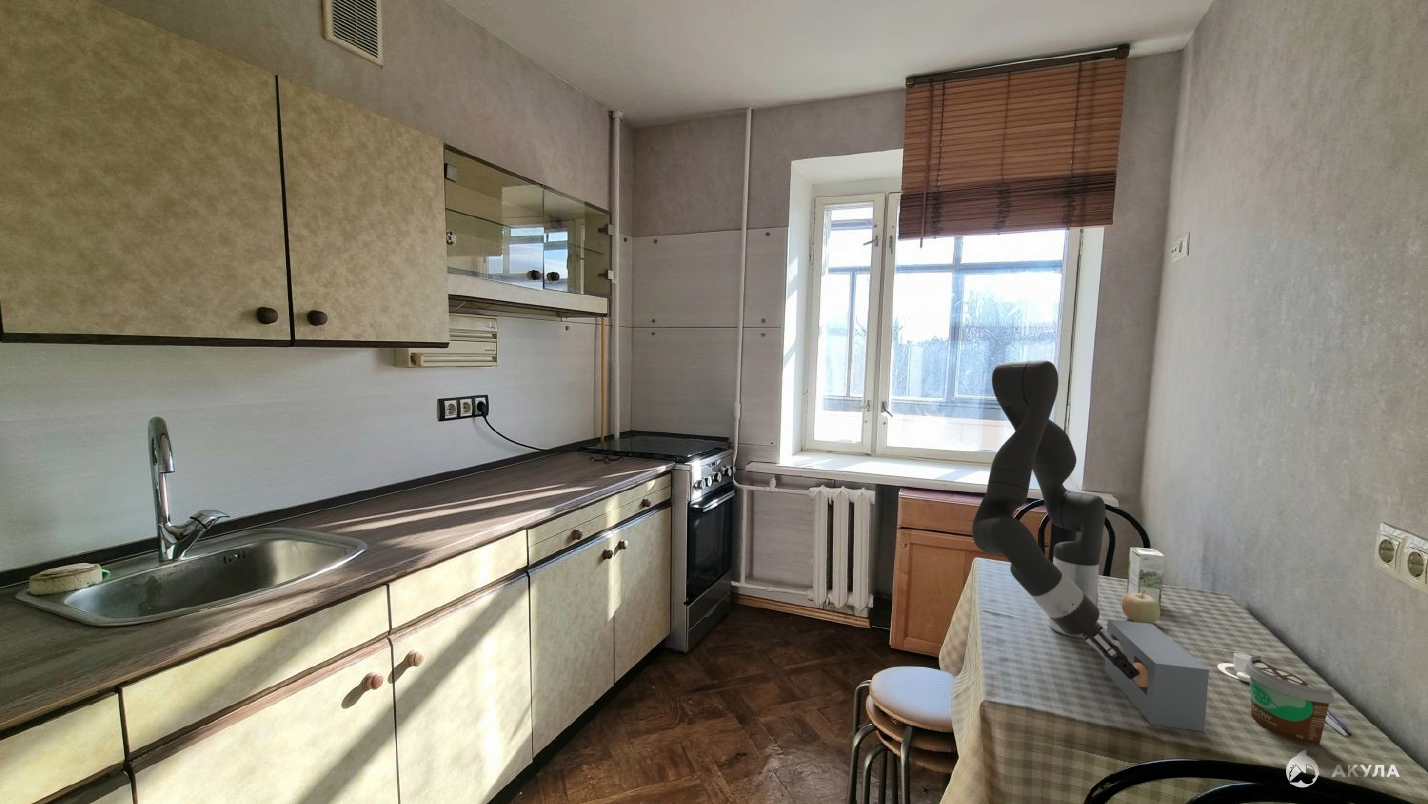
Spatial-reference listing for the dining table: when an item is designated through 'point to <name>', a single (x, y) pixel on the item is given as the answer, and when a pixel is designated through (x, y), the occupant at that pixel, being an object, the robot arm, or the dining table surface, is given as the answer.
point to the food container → (1287, 702)
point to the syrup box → (1146, 572)
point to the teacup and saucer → (1237, 667)
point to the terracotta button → (1141, 675)
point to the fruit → (1141, 608)
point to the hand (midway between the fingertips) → (1133, 674)
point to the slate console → (1161, 676)
